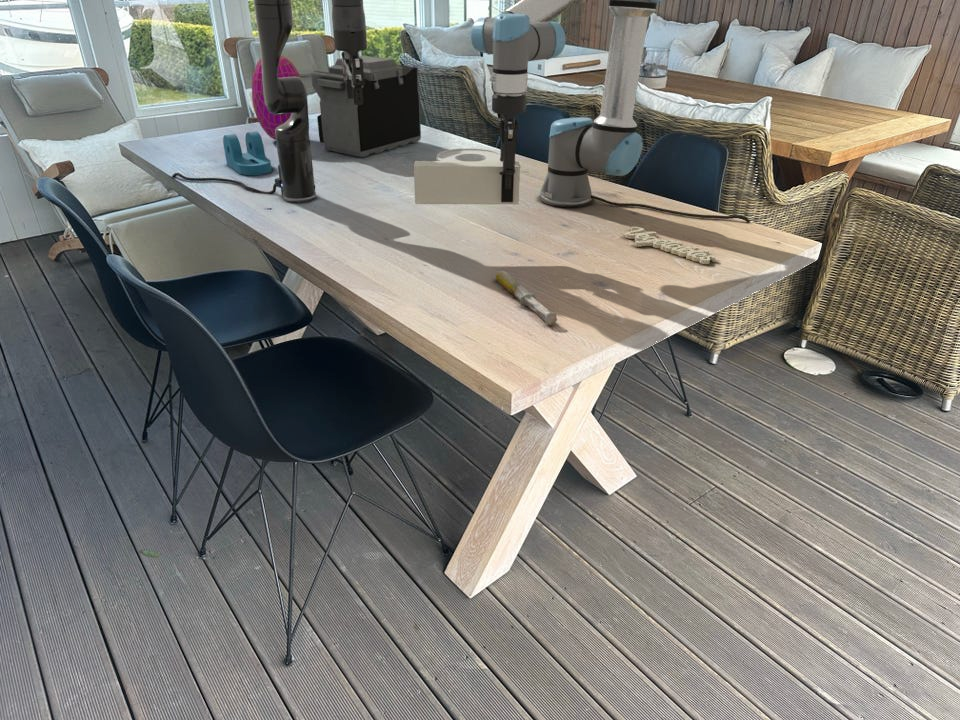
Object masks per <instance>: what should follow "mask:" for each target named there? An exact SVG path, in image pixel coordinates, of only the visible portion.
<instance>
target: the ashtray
mask: <svg viewBox="0 0 960 720" xmlns="http://www.w3.org/2000/svg"><path fill="white" fill-rule="evenodd" d="M500 156H501V151H497V150H493V149H489V148H480V147H479V148H477V147H462V148H450V149H447V150H443V151H440V152H438V153H437V154H436V156H435V161H498V162H501V161H500Z"/></svg>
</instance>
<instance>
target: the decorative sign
mask: <svg viewBox="0 0 960 720" xmlns="http://www.w3.org/2000/svg"><path fill="white" fill-rule="evenodd" d="M624 238H626V239H629V240H630V239H631V240H634V247H636V248H639V247H653V248H655V249H660V250H661V251H663V252H667V253H671V254H673V255H677V256H679V257H685V259H687V260H691V261H693V262H696V263H697V262H698V263H700V264H702V265H709V264H710V261H711V262H712V263H715V262H716V258H717V257H716V256H715V255H711V254H710V250H709V249H700V247H699V246H697V245H696V246H686V247H685V246H684V245H683V243H682V242H681V241H677V240H676V241H675V240H673V239H667V240H666V239H662V238H658V237H657V232H656V231H645V228H643V227H639V226H631V229H630V231H625V234H624ZM709 254H710V255H709Z"/></svg>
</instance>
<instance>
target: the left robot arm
mask: <svg viewBox="0 0 960 720" xmlns="http://www.w3.org/2000/svg"><path fill="white" fill-rule="evenodd" d="M253 5H254V15H255V21H256V27H257V35H258V40H259V50H260V59H261V63H262V81H263V94H264V100H265V104H266V107H267V109H268V111H269V112H270V113H271V114H273V115H278V114H288V113H291V116H290V118H289V119H288V120H287V121H286V122H285V123H283V124H282V125H280V126H278V127H277V128H276V129H275V137H276V140H275V143H276V148H277V158H278V165H277V171H278V177H277V178H275V179H274V184H273V185H272V190H270V191H262V190H260V189H258V188H255V187H251V186H248V185H247V184H244V182H242V181H239V180H235V179H230V178H223V177H222V178H220V177H187V176H185V175H183V174H182V173H180V172H174V173H173V174H172V176H171V178H173V179H174V178H176V177H179V178H181V179H183V180H185V181H189V182H206V181H207V182H208V181H209V182H211V181H212V182H224V183H225V182H226V183H232V184H236V185H240V186H241V187H243V188H244V189H246V190H248V191H252V192H255V193H256V194H257V193H258V194H263V195H273V194H275V193H276V191H277V188H279V189H280V192H281V198H283V200H284V201H286V202H290V203H305V202H311V201H314V200H315V199H317V192H316V183H315V176H314V174H315V173H314V167H313V157H312V149H311V141H310V119H309V118H310V117H309V104H308V93H307V88H306V85H305V82H304V81H303V79H302V78H301V79H300V78H299V77H282V78H278V66H279V60H280V56H282V53H283V50H284V49H285V46H286V44H287V42H288V41H289V37H290V35H291V32H292V30H293V27H294V25H293V24H294V17H293V6H292V0H253ZM364 8H365V7H364V0H331V20H332V31H333V32H332V33H333V44H334V49H335V50H336V51H338V52H341V54H340V55H341V58H342V66H343V77H344V80H345V82H346V90H347V97H348V98H349V99H353V101H354V104H355V105H362V104H363V91H362V88H363V86H364V85H365V82H364V71H363V60H362V58H359V56H360V54H359V52H363V51H366V50H367V49H368V39H367V22H366V14H365V10H364ZM356 79H359V81H356Z"/></svg>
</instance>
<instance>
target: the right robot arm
mask: <svg viewBox="0 0 960 720" xmlns="http://www.w3.org/2000/svg"><path fill="white" fill-rule="evenodd" d="M662 1H663V0H609V5H608V8H609V10H610V11H611V13H612V15H613V20H612V27H611V34H610V40H609V46H608V47H609V48H608V56H607V62H606V70H605V76H604V84H603V91H602V99H601V106H600V114H599V115H598V116H597V117H596V118H595V119H594V120H593V119H592V118H590V117H569V118H568V117H567V118H561V119H557V120H554V121H553V122H552V123H551V125H550V129H549V130H550V131H549V135H548V139H549V141H548V156H547V157H548V159H547V173H546V176H545V178H544V181H543V184H542V187H541V189H540V192H539V200H540V202H542V203H543V204H546V205H549V206H553V207H558V208H559V207H560V208H580V207H584V206H588V205H589V204H591V203H592V199H593V200H596V201H599V202H602V203H604V204H608V205H610V206H615V207H638V208H644V209H650V210H654V211H659V212H663V213H667V214H668V213H669V214H672V215H679V216H684V217H692V218H693V217H694V218H700V219H718V220H719V219H721V220H732V219H740V220H743V221H745V222H746V223H748V224H749V223H750V224H751V220H750V219H749V218H748V217H746V216H744V215H741V214H735V215H716V214H698V213H689V212H683V211H678V210H672V209H666V208H663V207H662V208H661V207H657V206H654V205H648V204H644V203H631V202H630V203H629V202H628V203H627V202H626V203H625V202H624V203H623V202H614V201H610V200H607V199H605V198H603V197H599V196H595V195H593V193H592V188H591V184H590V179H589V171H593V172H597V173H601V174H606V175H608V176H616V177H623V176H626V175H628V174H629V173H630V172H631V171H632V170H634V168H635V167H636V165H637V164H638V162H639V160H640V158H641V155H642V153H643V152H642V151H643V146H644V143H643V137H642V136H641V135H640V134H639V133H638V132H637V128H638V123H637V122H636V121H635V120H634V118H633V116H634V110H635V104H636V98H637V92H638V86H639V80H640V73H641V68H642V67H641V66H642V60H643V54H644V48H645V42H646V36H647V35H646V34H647V28H648V22H649V18H650V16H652V15H653V14H654V13H655V12H656V11H657V4H658V3H660V2H662ZM586 2H588V0H519V1H517V2H516V3H514V4H513V5H512V6H509V7H508V8H507V9H506V10H504V11H502V12H500V13H499V14H497V15H496V16H494V17H490V16H486V17H480V18H478V19H476V20H475V21H474V22H473V24H472V27H471V29H470V41H471V45H472V47H473V48H474V50H475V51H476V52H479V53H483V54H486V55H492V75H493V76H490V77H489V82H492V92H494V93H493V94H492V95H491V111H492V112H493V113H494V114H497V115H502V117H501V118H500V119H499V120H498V128H499V139H500V153H501V156H500V161H501V162H503V171H502V172H499V174H500V175H502V186H501V202H513V186H514V173H515V162H516V144H517V140H518V139H517V136H518V135H517V134H518V129H519V121H518V119H516V115H523V114H525V112H526V111H527V95H526V94H525V93H527V92H528V75H529V73H528V67H529V62H533V61H534V62H535V61H542V60H547V61H549V60H550V59H553V58H556V57H558V56H559V55H561V53H562V52H563V51H564V49H565V47H566V37H567V36H566V32H565V30H564V28H563V26H562V25H561V24H560V23H558V22H556V21H552V20H553V19H555V18H556V17H558V16H559V15H561V14H562V13H564V12H565V11H567V10H569V9H570V8H571V7H573V6H574V5H576V6H579V5H583V4H584V3H586Z"/></svg>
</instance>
